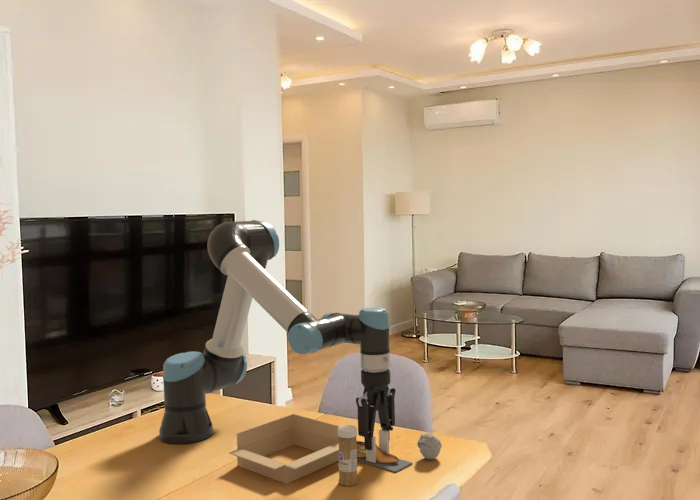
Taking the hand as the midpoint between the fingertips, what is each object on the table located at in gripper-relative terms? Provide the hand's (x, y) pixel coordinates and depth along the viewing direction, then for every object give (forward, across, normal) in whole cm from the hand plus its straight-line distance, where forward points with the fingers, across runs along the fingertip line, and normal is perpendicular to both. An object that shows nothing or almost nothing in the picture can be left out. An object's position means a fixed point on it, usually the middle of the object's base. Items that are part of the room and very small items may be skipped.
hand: (377, 457), depth 172 cm
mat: (+1, 0, 0) cm, 1 cm away
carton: (+1, -16, +16) cm, 22 cm away
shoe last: (+1, 0, 0) cm, 1 cm away
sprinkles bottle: (+1, -15, -3) cm, 15 cm away
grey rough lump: (+1, +9, -10) cm, 13 cm away
